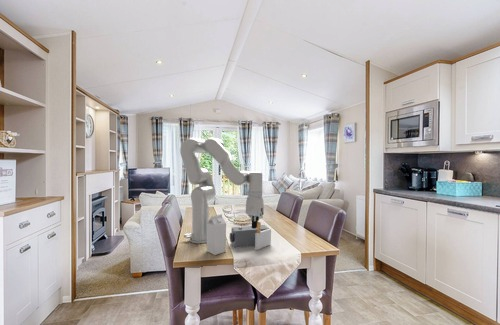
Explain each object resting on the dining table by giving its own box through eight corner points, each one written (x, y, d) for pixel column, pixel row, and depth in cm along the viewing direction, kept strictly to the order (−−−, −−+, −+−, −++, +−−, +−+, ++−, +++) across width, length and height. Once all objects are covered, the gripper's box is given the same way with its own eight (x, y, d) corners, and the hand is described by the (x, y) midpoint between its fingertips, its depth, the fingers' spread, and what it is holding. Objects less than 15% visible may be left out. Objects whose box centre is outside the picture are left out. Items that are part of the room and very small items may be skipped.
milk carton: (206, 251, 139) (206, 215, 138) (217, 248, 144) (217, 213, 143) (214, 255, 133) (215, 217, 133) (225, 251, 138) (226, 215, 138)
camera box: (232, 247, 144) (232, 229, 144) (228, 243, 152) (228, 226, 152) (269, 244, 151) (269, 227, 151) (263, 239, 159) (264, 223, 159)
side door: (257, 250, 141) (257, 223, 140) (254, 249, 142) (255, 222, 142) (271, 244, 150) (271, 219, 149) (268, 243, 151) (268, 218, 151)
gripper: (240, 193, 148) (240, 226, 148) (260, 196, 137) (259, 232, 138) (250, 192, 153) (250, 224, 154) (270, 195, 142) (269, 229, 143)
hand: (254, 227), depth 146 cm, fingers closed
